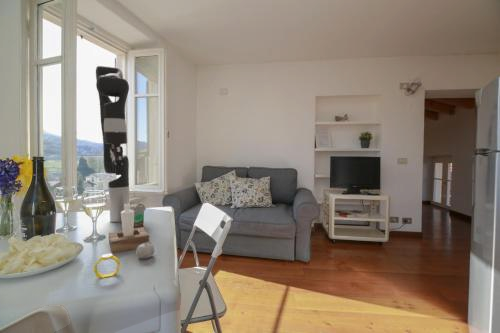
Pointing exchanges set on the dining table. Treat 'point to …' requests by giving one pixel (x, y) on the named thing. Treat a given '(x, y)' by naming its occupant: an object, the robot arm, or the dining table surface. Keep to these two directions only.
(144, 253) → the garlic
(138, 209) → the food container
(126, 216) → the white faceted vase
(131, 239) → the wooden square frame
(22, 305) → the dining table surface
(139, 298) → the dining table surface
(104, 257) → the watch
